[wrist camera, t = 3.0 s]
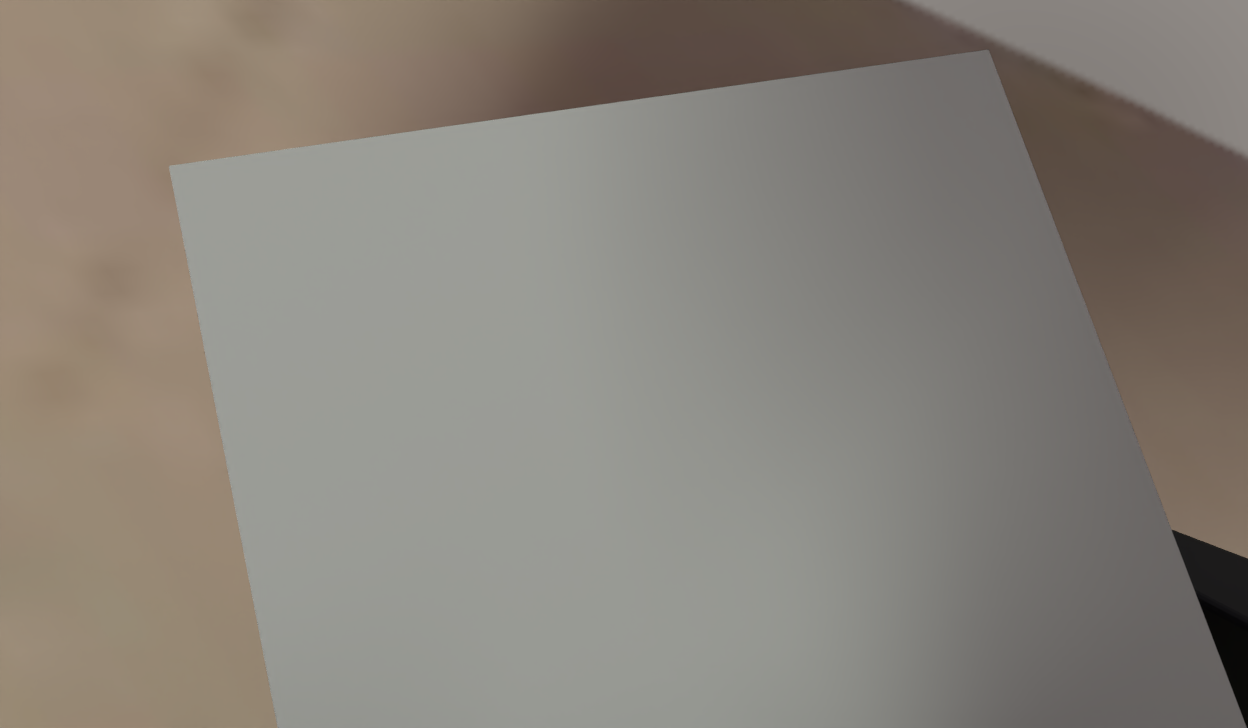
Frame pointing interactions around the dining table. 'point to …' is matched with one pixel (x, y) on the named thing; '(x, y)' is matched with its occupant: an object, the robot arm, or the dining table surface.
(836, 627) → the block
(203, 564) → the dining table surface
